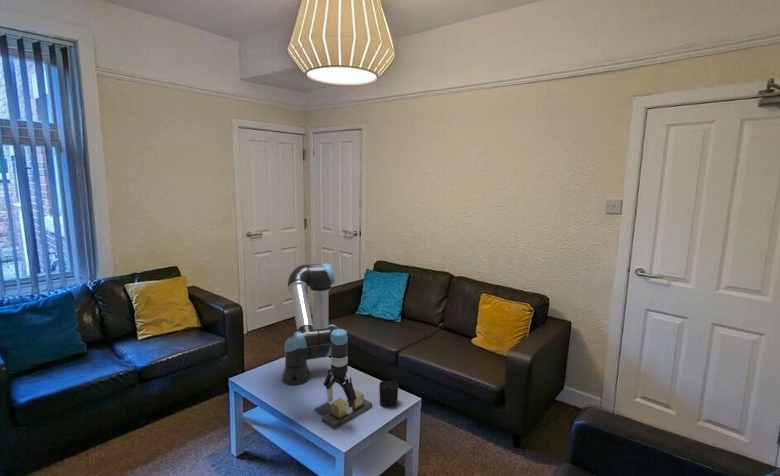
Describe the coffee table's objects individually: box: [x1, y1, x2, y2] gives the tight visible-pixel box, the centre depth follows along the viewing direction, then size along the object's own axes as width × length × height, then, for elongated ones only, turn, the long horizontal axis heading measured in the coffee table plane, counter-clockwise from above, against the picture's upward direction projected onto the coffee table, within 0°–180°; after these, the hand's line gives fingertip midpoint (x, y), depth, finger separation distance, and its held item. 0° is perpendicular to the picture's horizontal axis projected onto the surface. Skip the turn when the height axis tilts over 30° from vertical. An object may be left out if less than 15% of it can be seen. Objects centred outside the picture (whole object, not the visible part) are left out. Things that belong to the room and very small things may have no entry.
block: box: [346, 389, 365, 411], centre depth 190 cm, size 6×6×8 cm
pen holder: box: [378, 380, 399, 409], centre depth 195 cm, size 9×9×10 cm
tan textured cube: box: [330, 397, 348, 421], centre depth 182 cm, size 6×6×8 cm
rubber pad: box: [313, 402, 331, 417], centre depth 189 cm, size 8×8×1 cm
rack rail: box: [321, 398, 373, 430], centre depth 186 cm, size 9×24×2 cm, turn 138°
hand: (339, 407), depth 182 cm, fingers open, 13 cm apart
